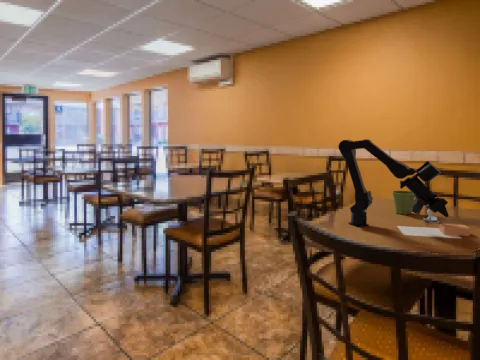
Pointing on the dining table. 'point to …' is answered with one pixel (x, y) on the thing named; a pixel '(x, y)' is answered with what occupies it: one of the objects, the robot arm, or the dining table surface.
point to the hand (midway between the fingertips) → (447, 216)
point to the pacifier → (430, 217)
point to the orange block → (454, 229)
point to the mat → (424, 232)
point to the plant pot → (403, 201)
